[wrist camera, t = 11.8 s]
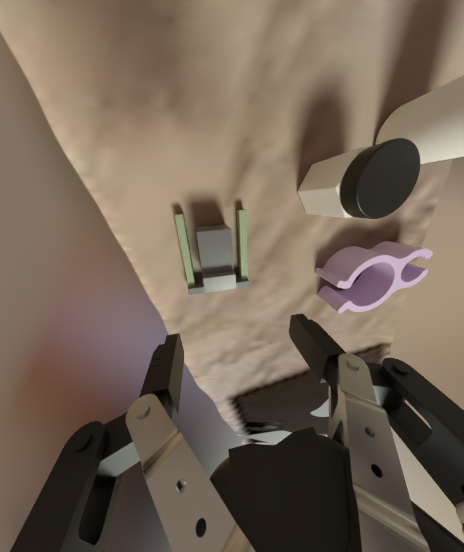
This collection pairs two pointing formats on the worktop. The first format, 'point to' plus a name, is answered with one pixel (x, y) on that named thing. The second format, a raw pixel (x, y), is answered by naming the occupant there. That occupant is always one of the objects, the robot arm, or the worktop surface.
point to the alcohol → (431, 123)
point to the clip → (370, 274)
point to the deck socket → (193, 285)
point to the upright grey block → (216, 257)
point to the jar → (362, 181)
